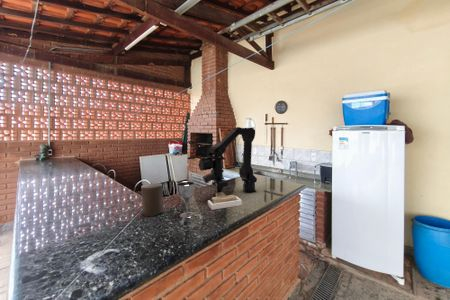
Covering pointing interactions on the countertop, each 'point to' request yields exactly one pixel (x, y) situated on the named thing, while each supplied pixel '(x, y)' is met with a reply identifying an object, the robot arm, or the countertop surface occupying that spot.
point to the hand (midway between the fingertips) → (218, 195)
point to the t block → (223, 198)
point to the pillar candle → (152, 199)
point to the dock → (225, 204)
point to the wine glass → (186, 195)
